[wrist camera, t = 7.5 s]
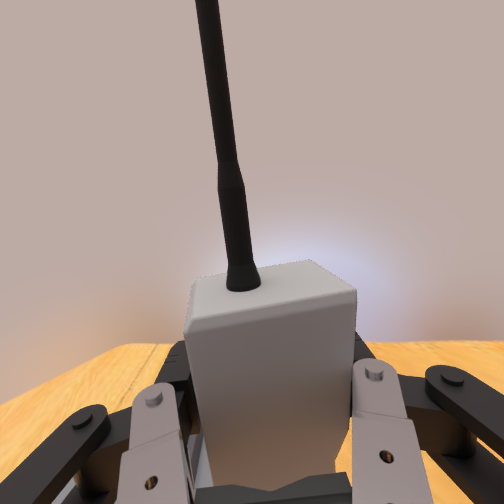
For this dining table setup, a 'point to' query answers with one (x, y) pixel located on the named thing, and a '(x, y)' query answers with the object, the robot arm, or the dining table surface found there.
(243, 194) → the vintage mobile phone
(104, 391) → the dining table surface
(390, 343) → the dining table surface
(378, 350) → the dining table surface
